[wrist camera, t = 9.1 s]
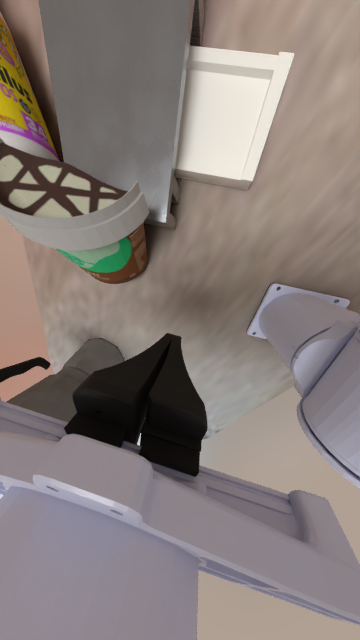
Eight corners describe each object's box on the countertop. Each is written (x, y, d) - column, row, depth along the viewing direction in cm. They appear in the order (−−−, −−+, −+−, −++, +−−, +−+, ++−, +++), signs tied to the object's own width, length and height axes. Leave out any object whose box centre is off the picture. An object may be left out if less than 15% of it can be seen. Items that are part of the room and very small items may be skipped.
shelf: (214, -46, 9) (220, -270, 5) (175, 229, 17) (165, 222, 13) (80, -54, 10) (-2, -255, 6) (101, 214, 17) (70, 203, 13)
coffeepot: (139, 367, 29) (58, 504, 13) (113, 380, 33) (27, 499, 17) (84, 313, 25) (-127, 415, 9) (62, 334, 29) (-115, 434, 13)
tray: (280, 85, 11) (294, 53, 9) (246, 190, 14) (252, 181, 12) (141, 68, 12) (130, 35, 10) (138, 170, 15) (129, 159, 13)
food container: (53, 272, 18) (-90, 180, 8) (77, 236, 19) (-22, 118, 9) (139, 305, 18) (102, 256, 8) (157, 267, 19) (145, 183, 9)
